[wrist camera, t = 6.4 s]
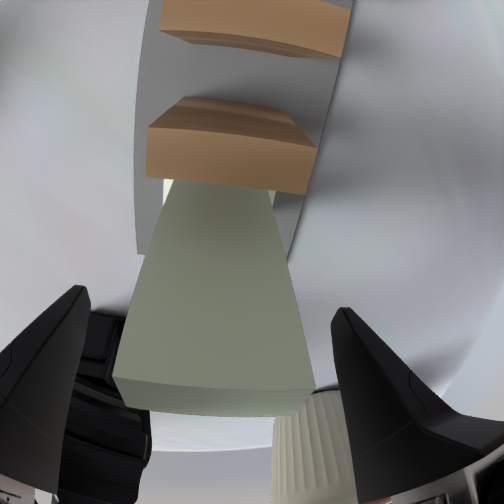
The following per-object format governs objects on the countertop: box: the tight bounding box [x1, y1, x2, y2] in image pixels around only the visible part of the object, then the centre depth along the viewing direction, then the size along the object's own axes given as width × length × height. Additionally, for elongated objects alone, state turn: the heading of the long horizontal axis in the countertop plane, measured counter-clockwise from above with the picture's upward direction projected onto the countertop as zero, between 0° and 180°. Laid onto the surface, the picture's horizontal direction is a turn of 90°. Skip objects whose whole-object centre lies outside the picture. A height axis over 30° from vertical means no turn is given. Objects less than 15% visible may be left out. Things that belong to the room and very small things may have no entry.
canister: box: [271, 390, 392, 504], centre depth 29 cm, size 18×18×21 cm
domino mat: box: [134, 0, 353, 259], centre depth 11 cm, size 28×10×1 cm, turn 170°
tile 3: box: [112, 180, 316, 417], centre depth 12 cm, size 2×5×12 cm, turn 80°
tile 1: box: [158, 0, 351, 58], centre depth 8 cm, size 2×5×7 cm, turn 80°
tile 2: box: [146, 97, 318, 195], centre depth 11 cm, size 2×5×7 cm, turn 80°
